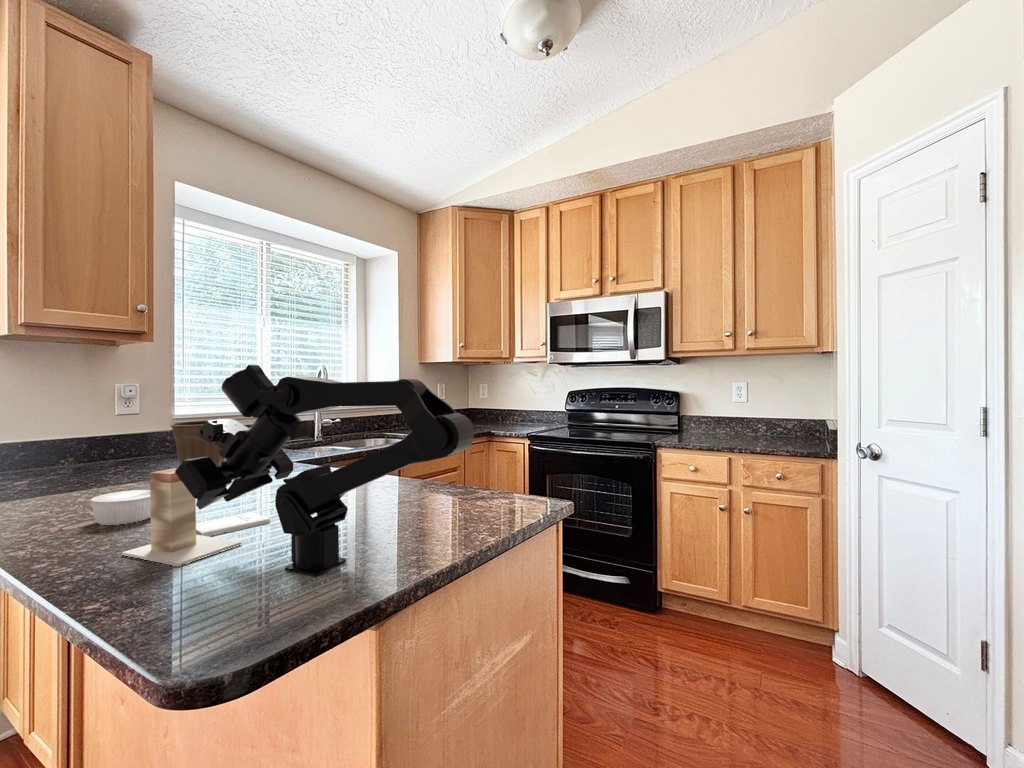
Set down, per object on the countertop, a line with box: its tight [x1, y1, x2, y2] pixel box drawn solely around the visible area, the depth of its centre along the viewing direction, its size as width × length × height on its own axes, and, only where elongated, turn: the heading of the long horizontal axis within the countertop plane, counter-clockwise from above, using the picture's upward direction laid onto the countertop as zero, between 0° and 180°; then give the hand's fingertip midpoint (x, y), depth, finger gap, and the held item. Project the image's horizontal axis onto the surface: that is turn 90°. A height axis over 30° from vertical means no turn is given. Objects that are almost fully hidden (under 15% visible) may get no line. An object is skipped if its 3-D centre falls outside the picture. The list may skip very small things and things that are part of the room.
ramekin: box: [90, 489, 151, 526], centre depth 104 cm, size 11×11×5 cm
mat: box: [121, 535, 242, 567], centre depth 84 cm, size 14×11×1 cm
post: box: [149, 467, 197, 553], centre depth 84 cm, size 4×4×13 cm
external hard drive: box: [196, 511, 271, 537], centre depth 98 cm, size 2×8×12 cm
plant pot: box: [169, 420, 225, 467], centre depth 160 cm, size 16×16×16 cm
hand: (212, 503), depth 82 cm, fingers open, 5 cm apart
